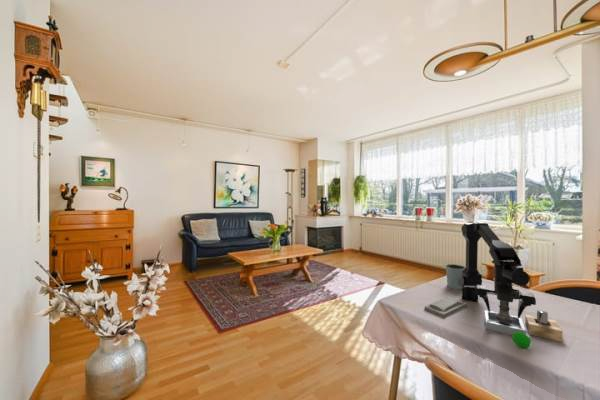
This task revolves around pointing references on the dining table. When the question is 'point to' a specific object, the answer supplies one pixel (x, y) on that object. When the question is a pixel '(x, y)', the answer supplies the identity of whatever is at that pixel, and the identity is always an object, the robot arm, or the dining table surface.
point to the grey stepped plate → (445, 307)
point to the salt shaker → (504, 314)
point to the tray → (492, 325)
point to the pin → (542, 317)
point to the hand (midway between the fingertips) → (503, 314)
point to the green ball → (521, 339)
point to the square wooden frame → (543, 328)
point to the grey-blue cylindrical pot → (454, 275)
